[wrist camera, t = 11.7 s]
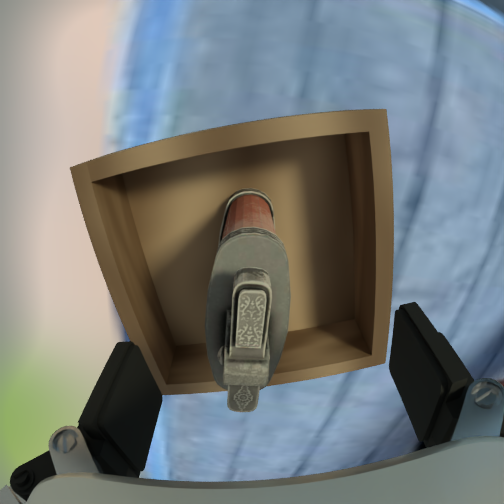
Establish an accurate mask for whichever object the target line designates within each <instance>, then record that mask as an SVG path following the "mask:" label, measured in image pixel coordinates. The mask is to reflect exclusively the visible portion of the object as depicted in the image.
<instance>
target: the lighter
mask: <svg viewBox="0 0 504 504" xmlns="http://www.w3.org/2000/svg"><path fill="white" fill-rule="evenodd" d="M290 302H291V290H290V275H289V261H288V257H287V253H286V250H285V247H284V244H283V242H282V241H281V240H280V239H279V238H278V236H277V235H276V231H275V220H274V210H273V206H272V203H271V200H270V198H269V197H268V196H267V195H266V194H265V193H264V192H262V191H260V190H258V189H253V188H244V189H241V190H238V191H236V192H235V193H233V194H232V195H231V196H230V198H229V200H228V202H227V205H226V209H225V213H224V217H223V220H222V224H221V229H220V235H219V243H218V249H217V253H216V257H215V261H214V266H213V270H212V274H211V278H210V282H209V287H208V292H207V303H206V314H205V336H206V346H207V355H208V359H209V363H210V366H211V370H212V374H213V377H214V380H215V382H216V383H217V385H219V386H220V387H221V388H223V389H225V390H228V400H227V405H228V408H229V409H230V410H232V411H236V412H251V411H254V410H255V409H256V407H257V404H258V397H259V390H261V389H263V388H264V387H266V386H267V385H268V383H269V382H270V381H271V378H272V376H273V374H274V372H275V370H276V367H277V365H278V363H279V361H280V358H281V355H282V351H283V347H284V344H285V340H286V336H287V333H288V326H289V314H290Z"/></svg>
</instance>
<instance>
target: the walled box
mask: <svg viewBox="0 0 504 504" xmlns="http://www.w3.org/2000/svg"><path fill="white" fill-rule="evenodd" d="M70 170H71V174H72V178H73V182H74V185H75V189H76V193H77V196H78V200H79V204H80V207H81V211H82V214H83V217H84V221H85V223H86V227H87V230H88V233H89V236H90V239H91V242H92V245H93V248H94V251H95V254H96V257H97V260H98V263H99V265H100V268H101V271H102V274H103V276H104V279H105V282H106V284H107V287H108V289H109V292H110V294H111V297H112V299H113V302H114V304H115V307H116V309H117V312H118V314H119V316H120V319H121V321H122V323H123V325H124V328H125V330H126V332H127V335H128V337H129V339H130V341H131V342H133V343H134V344H135V345H138V346H139V348H140V350H141V352H142V354H143V357H144V359H145V361H146V363H147V365H148V367H149V369H150V371H151V373H152V375H153V377H154V379H155V381H156V383H157V385H158V387H159V389H160V391H161V394H162V395H176V394H193V393H207V392H219V391H228V390H225V389H223V388H221V387H220V386H219V385H217V383H216V382H215V380H214V377H213V374H212V370H211V366H210V363H209V359H208V355H207V346H206V336H205V314H206V303H207V292H208V287H209V282H210V278H211V274H212V270H213V266H214V261H215V257H216V253H217V249H218V243H219V235H220V229H221V224H222V220H223V217H224V213H225V209H226V205H227V202H228V200H229V198H230V196H231V195H232V194H233V193H235V192H236V191H238V190H241V189H244V188H253V189H258V190H260V191H262V192H264V193H265V194H266V195H267V196H268V197H269V198H270V200H271V203H272V206H273V210H274V220H275V231H276V235H277V236H278V238H279V239H280V240H281V241H282V242H283V244H284V247H285V250H286V253H287V257H288V261H289V275H290V290H291V302H290V314H289V326H288V333H287V336H286V340H285V344H284V347H283V351H282V355H281V358H280V361H279V363H278V365H277V367H276V370H275V372H274V374H273V376H272V378H271V381H270V382H269V383H268V385H267V386H271V385H278V384H285V383H291V382H297V381H303V380H309V379H315V378H320V377H325V376H330V375H335V374H340V373H345V372H350V371H354V370H359V369H363V368H367V367H372V366H376V365H380V364H384V363H385V360H386V352H387V344H388V334H389V324H390V312H391V299H392V281H393V253H394V209H393V181H392V164H391V150H390V139H389V129H388V119H387V111H386V109H364V110H344V111H332V112H321V113H311V114H302V115H293V116H285V117H278V118H271V119H264V120H257V121H251V122H245V123H239V124H233V125H228V126H222V127H217V128H212V129H207V130H202V131H197V132H193V133H188V134H184V135H179V136H175V137H171V138H166V139H162V140H158V141H154V142H150V143H147V144H143V145H139V146H135V147H132V148H128V149H125V150H121V151H118V152H114V153H111V154H108V155H105V156H102V157H99V158H96V159H93V160H90V161H87V162H84V163H81V164H78V165H76V166H73V167H70Z"/></svg>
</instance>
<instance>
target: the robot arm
mask: <svg viewBox="0 0 504 504" xmlns="http://www.w3.org/2000/svg"><path fill="white" fill-rule="evenodd" d="M389 370H390V373H391V376H392V378H393V380H394V382H395V385H396V387H397V389H398V392H399V394H400V396H401V399H402V401H403V403H404V406H405V408H406V411H407V413H408V415H409V418H410V420H411V423H412V425H413V428H414V430H415V433H416V435H417V438H418V440H419V441H420V442H421V441H424V444H425V446H426V448H425V449H422V450H419V451H416V452H412V453H409V454H405V455H402V456H398V457H394V458H391V459H387V460H383V461H379V462H375V463H370V464H366V465H362V466H357V467H353V468H348V469H342V470H337V471H332V472H326V473H319V474H313V475H306V476H298V477H290V478H280V479H269V480H256V481H235V482H190V481H169V480H156V479H144V478H139V475H140V471H143V470H144V468H145V465H146V461H147V457H148V453H149V449H150V445H151V441H152V438H153V434H154V430H155V426H156V422H157V419H158V415H159V411H160V408H161V404H162V394H161V391H160V389H159V387H158V385H157V383H156V381H155V379H154V377H153V375H152V373H151V371H150V369H149V367H148V365H147V363H146V361H145V359H144V357H143V354H142V352H141V350H140V348H139V346H138V345H135V344H134V343H133V342H131V341H130V342H118V343H117V344H116V346H115V348H114V349H113V351H112V353H111V355H110V357H109V359H108V361H107V363H106V365H105V367H104V369H103V371H102V373H101V375H100V377H99V379H98V381H97V383H96V385H95V387H94V389H93V391H92V393H91V396H90V398H89V400H88V402H87V404H86V406H85V408H84V410H83V413H82V415H81V417H80V419H79V421H78V422H79V426H78V427H77V428H76V427H74V426H65V427H62V428H60V429H58V430H57V431H55V432H54V434H52V436H51V438H50V440H49V451H47V452H45V453H44V454H42V455H40V456H38V457H36V458H34V459H32V460H30V461H28V462H27V463H25V464H23V465H21V466H19V467H18V468H16V469H15V471H14V472H13V473H12V475H11V478H10V484H11V486H10V487H9V486H7V485H6V486H5V487H3V488H2V489H1V490H0V504H504V387H503V386H502V385H501V384H500V383H499V382H497V381H496V380H493V379H489V378H482V379H478V380H476V381H474V379H473V378H472V376H471V375H470V373H469V372H468V370H467V369H466V367H465V366H464V364H463V363H462V361H461V360H460V358H459V357H458V355H457V354H456V352H455V351H454V349H453V348H452V346H451V345H450V344H449V342H448V341H447V339H446V338H445V336H444V335H443V334H442V333H440V332H437V330H436V329H435V328H434V326H433V325H432V323H431V322H430V321H429V319H428V318H427V316H426V315H425V314H424V312H423V311H422V310H421V308H420V307H419V306H418V304H417V303H416V302H412V303H408V304H403V305H400V307H399V310H396V311H395V317H394V328H393V337H392V346H391V354H390V361H389ZM433 445H436V446H433ZM430 446H433V447H430ZM427 447H429V448H427Z"/></svg>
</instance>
